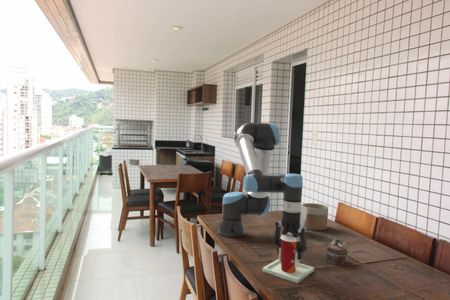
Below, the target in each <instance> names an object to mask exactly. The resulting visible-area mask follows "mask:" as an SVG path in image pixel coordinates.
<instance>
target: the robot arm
mask: <svg viewBox="0 0 450 300" xmlns="http://www.w3.org/2000/svg"><path fill="white" fill-rule="evenodd" d="M233 138H234V144H235V146H236V147H237V148H238V151H239V155H240V158H241V161H242V165H243V169H244V173H245V175H244V176H243V180H242V183H243V184H242V186H243V190H244V191H245V192H247V194H244V193H243V192H241V191H232V192H227V193H225V194H224V195H223V196H222V210H221V211H222V212H221V221H220V223H219V227H218V232H217V233H218V234H219V235H220V236H222V237H226V238H240V237H243V236H245V234H246V230H245V226H244V222H243V216H265V215H267V214H268V213H269V211H270V208H271V197H270V195H269V194H268V193H282V194H283V199H282V213H281V214H282V217H281V218H282V219H281V221H280V220H277V221H276V222H274V223H275V231H274V237H273V238H274V239H273V245H276V246H277V249H276V250H277V255H278V259H279V263H281V238H280V237H281V235H282V234H283V235H285V234H287V233H288V232H290V233H292V235H293V237H295V238H297V237H299V240H300V241H298V240H297V241H298V242H297V244H296V248H297V252H295V268H297V267H298V266H299V263H300V261H301V260H302V256H303V253H305V252H307V250H308V249H307V248H308V247H307V231H308V229H307V228H306V227H302V226H301V224H300V217H301V213H300V211H301V204H302V196H303V185H304V183H303V181H304V180H303V176H302V174H298V173H285V174H280V173H279V174H278V175H277V174H276V175H275V174H273V175H269V169H270V161H271V156H272V152H273V151H274V150H275V147H276V146H278V145H279V144H280V140H281V139H280V138H281V134H280V130H279V127H278V125H276V124H275V123H267V122H246V123H242V125H240V126H239V127H238V128H237V130H236V131H235V134H234V137H233ZM282 228H283V229H282ZM299 229H300V233H299V232H298V230H299ZM281 230H282V231H281ZM281 232H282V233H281ZM299 234H300V235H299Z"/></svg>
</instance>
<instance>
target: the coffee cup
mask: <svg viewBox="0 0 450 300" xmlns="http://www.w3.org/2000/svg"><path fill="white" fill-rule="evenodd" d="M280 238H281V270H282V271H284V272H287V273H293V272H295V270H296V268H295V252H297V248H296V244H297V242H298V241H300V242H301V239H300V240H299V238H300V236H299V237H297V238H295V237H293V235H292V233H287V234H285V235H283V234H282V233H281V234H280ZM280 238H279V239H280ZM297 240H298V241H297Z"/></svg>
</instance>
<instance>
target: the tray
mask: <svg viewBox="0 0 450 300" xmlns="http://www.w3.org/2000/svg"><path fill="white" fill-rule="evenodd" d="M314 271H315V267H313V266H310V265H307V264H303V263H300V262H299V266H298V267H297V268H296V270H295V272H293V273H287V272H284V271H282V270H281V263H279V258H278V259H276V260H274V261H272V262H270V263H269V264H267V265H265V266H264V267H262V272H263V273H266V274H268V275H271V276H274V277H277V278H279V279H280V278H281V279H283V280H286V281H288V282H291V283H295V284H299V283H300V282H301V281H302V280H305V278H306V277H308V276H309V275H311V274H312V273H313V272H314Z"/></svg>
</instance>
